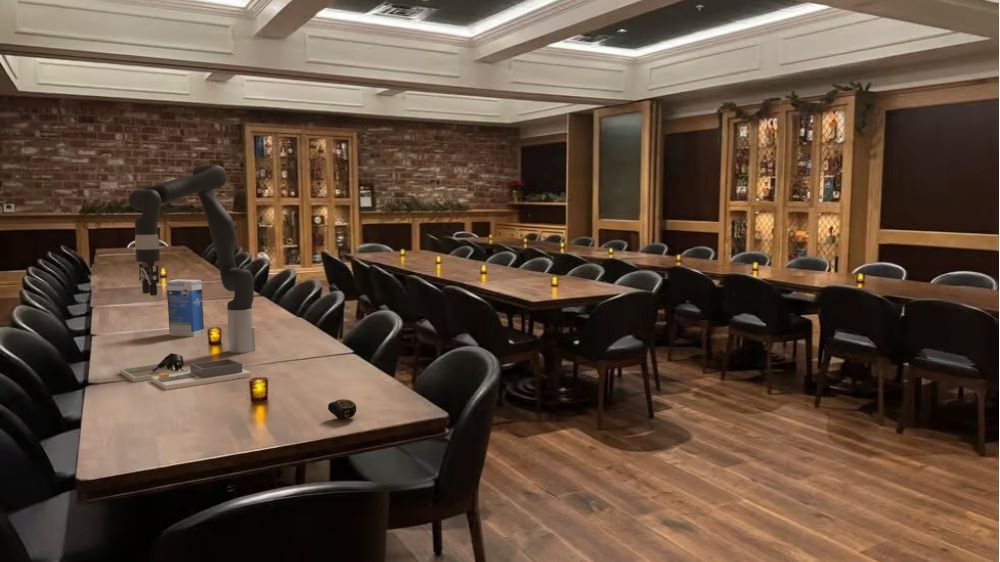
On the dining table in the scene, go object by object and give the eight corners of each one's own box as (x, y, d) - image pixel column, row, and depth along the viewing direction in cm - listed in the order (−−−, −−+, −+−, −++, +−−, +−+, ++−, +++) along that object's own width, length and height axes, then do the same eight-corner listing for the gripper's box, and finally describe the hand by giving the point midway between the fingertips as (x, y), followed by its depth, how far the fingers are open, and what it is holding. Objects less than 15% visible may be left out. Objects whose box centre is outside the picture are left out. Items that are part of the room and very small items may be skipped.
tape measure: (326, 412, 205) (327, 400, 204) (348, 409, 209) (349, 397, 209) (337, 423, 200) (338, 410, 199) (359, 419, 204) (360, 406, 203)
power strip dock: (233, 368, 265) (233, 356, 265) (251, 376, 253) (250, 363, 253) (151, 381, 247) (150, 368, 247) (166, 390, 235) (165, 376, 235)
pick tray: (172, 366, 270) (171, 362, 270) (188, 374, 257) (188, 370, 257) (119, 373, 259) (119, 369, 259) (133, 382, 246) (133, 377, 245)
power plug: (158, 371, 263) (185, 353, 262) (162, 388, 259) (189, 369, 258) (146, 366, 259) (173, 347, 258) (150, 383, 254) (177, 364, 253)
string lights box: (204, 336, 332) (202, 279, 329) (193, 339, 324) (191, 281, 322) (180, 335, 335) (177, 279, 333) (168, 338, 328) (165, 280, 325)
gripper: (165, 248, 251) (167, 295, 252) (152, 246, 261) (155, 291, 263) (141, 249, 246) (144, 297, 247) (129, 247, 256) (132, 293, 258)
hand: (149, 294), depth 255 cm, fingers open, 8 cm apart
